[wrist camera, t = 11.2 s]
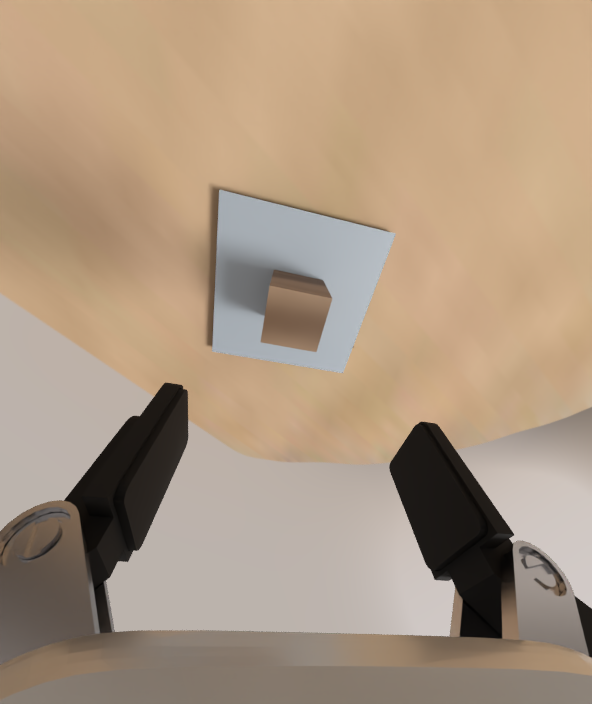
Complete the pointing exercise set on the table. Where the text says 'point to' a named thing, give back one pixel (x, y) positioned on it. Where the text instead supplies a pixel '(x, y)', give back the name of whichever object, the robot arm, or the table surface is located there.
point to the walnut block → (295, 311)
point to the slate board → (298, 258)
